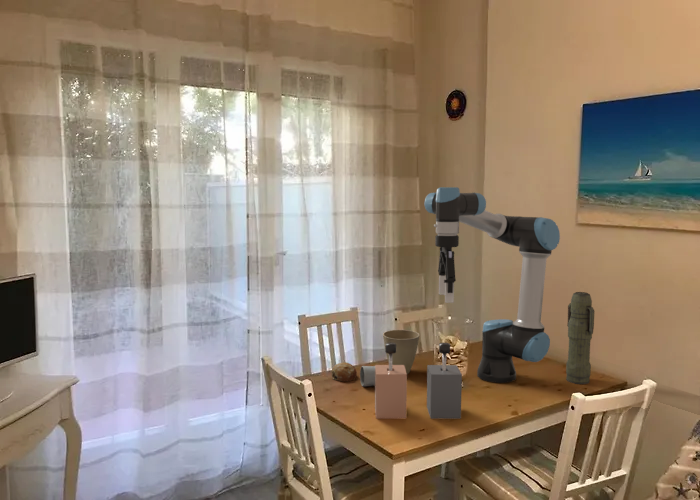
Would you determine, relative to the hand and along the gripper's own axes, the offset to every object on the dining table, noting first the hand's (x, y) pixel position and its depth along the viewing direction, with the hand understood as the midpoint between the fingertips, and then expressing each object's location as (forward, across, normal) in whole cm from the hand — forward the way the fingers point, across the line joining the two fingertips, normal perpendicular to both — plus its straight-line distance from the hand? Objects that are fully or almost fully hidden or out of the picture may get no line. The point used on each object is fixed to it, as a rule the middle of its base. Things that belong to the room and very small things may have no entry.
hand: (445, 298), depth 192 cm
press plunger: (+38, 0, -18) cm, 42 cm away
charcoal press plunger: (+38, 0, 0) cm, 38 cm away
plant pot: (+40, -43, -11) cm, 59 cm away
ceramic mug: (+40, -28, -24) cm, 54 cm away
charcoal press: (+39, -1, 0) cm, 39 cm away
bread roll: (+40, -36, -34) cm, 64 cm away
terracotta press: (+39, -1, -18) cm, 43 cm away
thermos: (+40, -33, +58) cm, 77 cm away
